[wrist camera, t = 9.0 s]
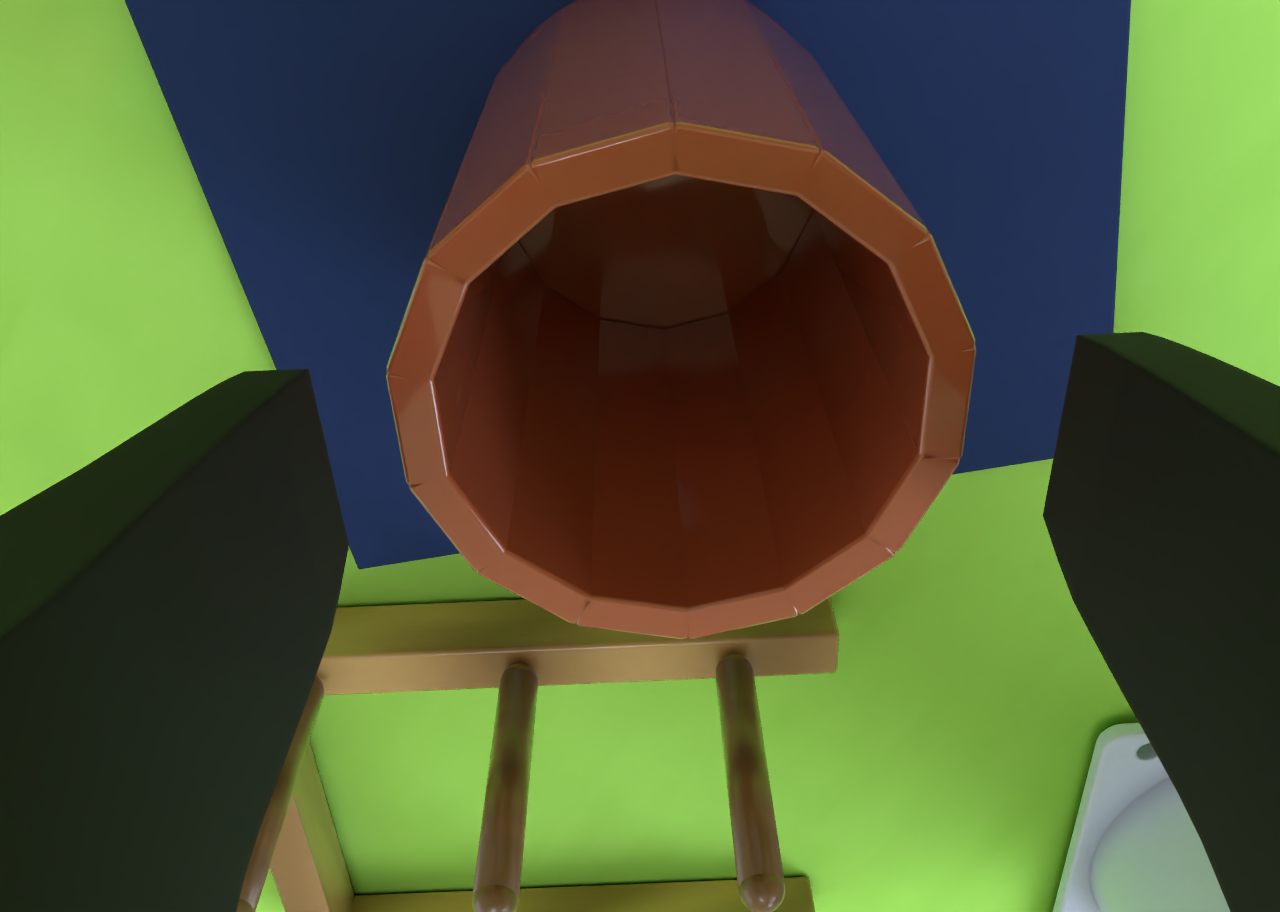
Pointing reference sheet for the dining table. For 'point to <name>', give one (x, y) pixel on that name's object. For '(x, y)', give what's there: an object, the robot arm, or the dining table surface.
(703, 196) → the tumbler
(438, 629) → the drying rack
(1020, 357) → the cloth
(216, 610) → the robot arm
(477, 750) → the dining table surface
